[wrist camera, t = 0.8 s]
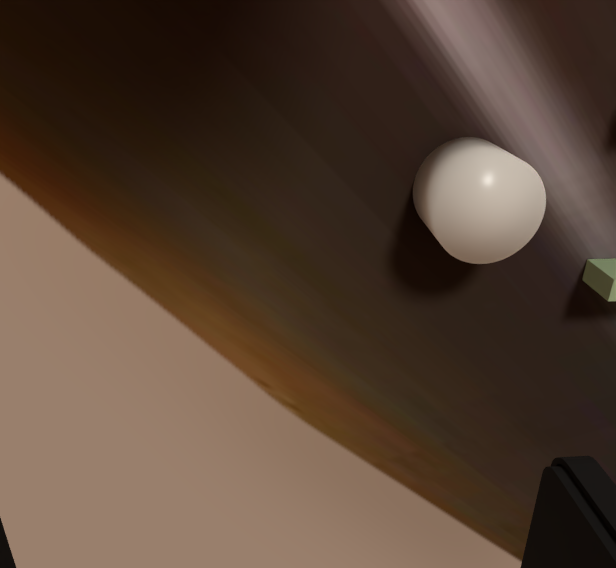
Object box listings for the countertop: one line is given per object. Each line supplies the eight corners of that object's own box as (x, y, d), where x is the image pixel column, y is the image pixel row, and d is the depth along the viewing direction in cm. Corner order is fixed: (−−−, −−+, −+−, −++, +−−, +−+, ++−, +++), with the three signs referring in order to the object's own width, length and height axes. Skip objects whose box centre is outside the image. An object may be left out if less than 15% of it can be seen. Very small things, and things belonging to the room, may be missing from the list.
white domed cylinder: (417, 137, 31) (440, 156, 27) (518, 136, 31) (556, 154, 27) (408, 235, 33) (428, 265, 29) (501, 232, 34) (534, 262, 30)
